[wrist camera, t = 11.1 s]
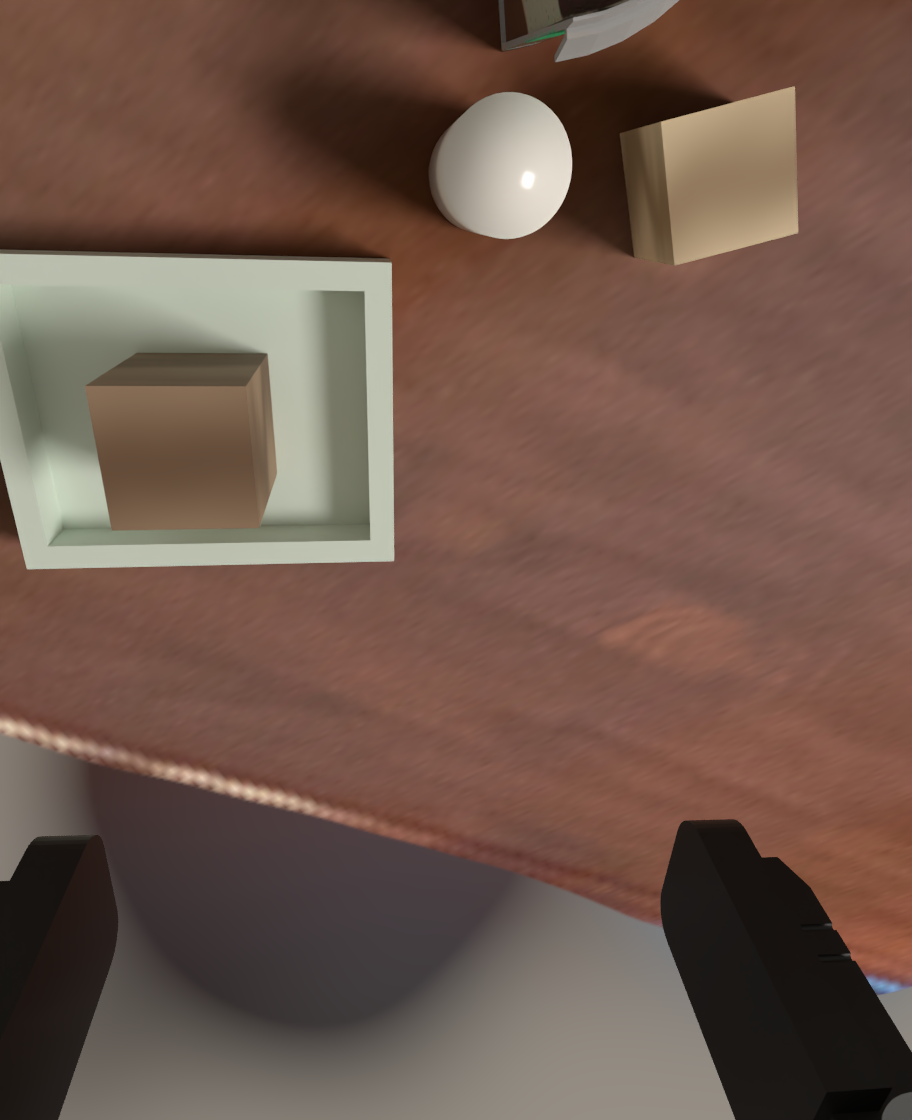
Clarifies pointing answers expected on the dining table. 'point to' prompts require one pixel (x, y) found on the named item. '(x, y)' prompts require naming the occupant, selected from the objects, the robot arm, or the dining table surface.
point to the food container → (575, 23)
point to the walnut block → (185, 440)
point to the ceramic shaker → (502, 167)
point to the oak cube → (713, 179)
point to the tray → (200, 327)
